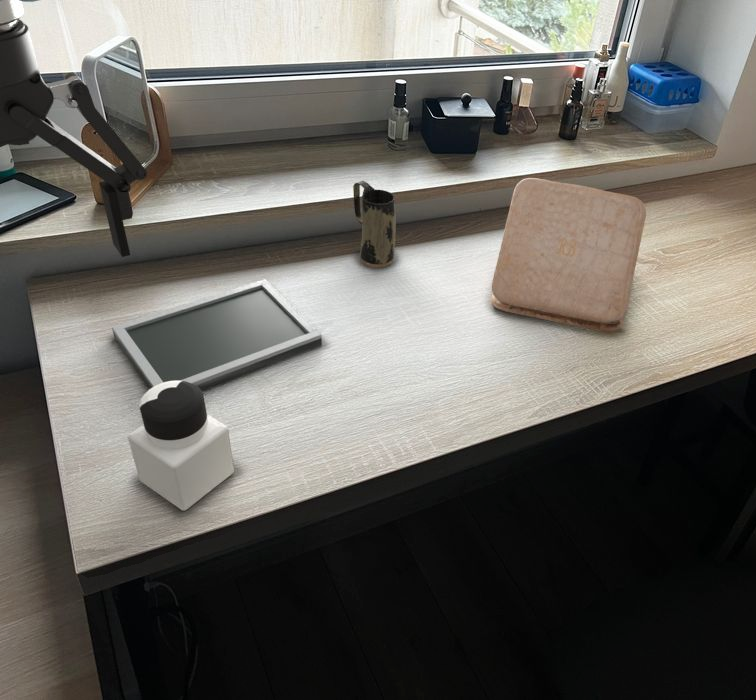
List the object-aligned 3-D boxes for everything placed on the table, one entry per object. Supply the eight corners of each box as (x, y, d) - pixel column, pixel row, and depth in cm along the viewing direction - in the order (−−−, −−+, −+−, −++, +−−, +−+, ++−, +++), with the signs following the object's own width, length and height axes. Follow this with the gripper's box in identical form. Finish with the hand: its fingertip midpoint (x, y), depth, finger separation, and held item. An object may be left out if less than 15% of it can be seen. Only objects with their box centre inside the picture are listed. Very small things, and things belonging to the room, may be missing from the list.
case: (484, 312, 109) (498, 217, 99) (511, 246, 125) (524, 158, 115) (619, 342, 106) (646, 247, 96) (628, 270, 123) (652, 183, 113)
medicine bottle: (236, 472, 80) (224, 392, 73) (184, 513, 75) (165, 431, 68) (191, 443, 83) (175, 363, 75) (138, 481, 78) (115, 399, 70)
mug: (401, 260, 118) (404, 193, 111) (376, 271, 115) (378, 203, 107) (368, 240, 122) (369, 174, 115) (343, 251, 118) (342, 184, 111)
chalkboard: (162, 407, 87) (159, 394, 86) (114, 338, 96) (111, 326, 95) (322, 345, 99) (321, 334, 98) (266, 289, 108) (265, 278, 107)
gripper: (128, -2, 62) (167, 219, 75) (-257, 19, 49) (-127, 283, 62) (158, 22, 57) (194, 253, 70) (-256, 53, 44) (-117, 329, 57)
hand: (44, 267), depth 66 cm, fingers open, 13 cm apart
